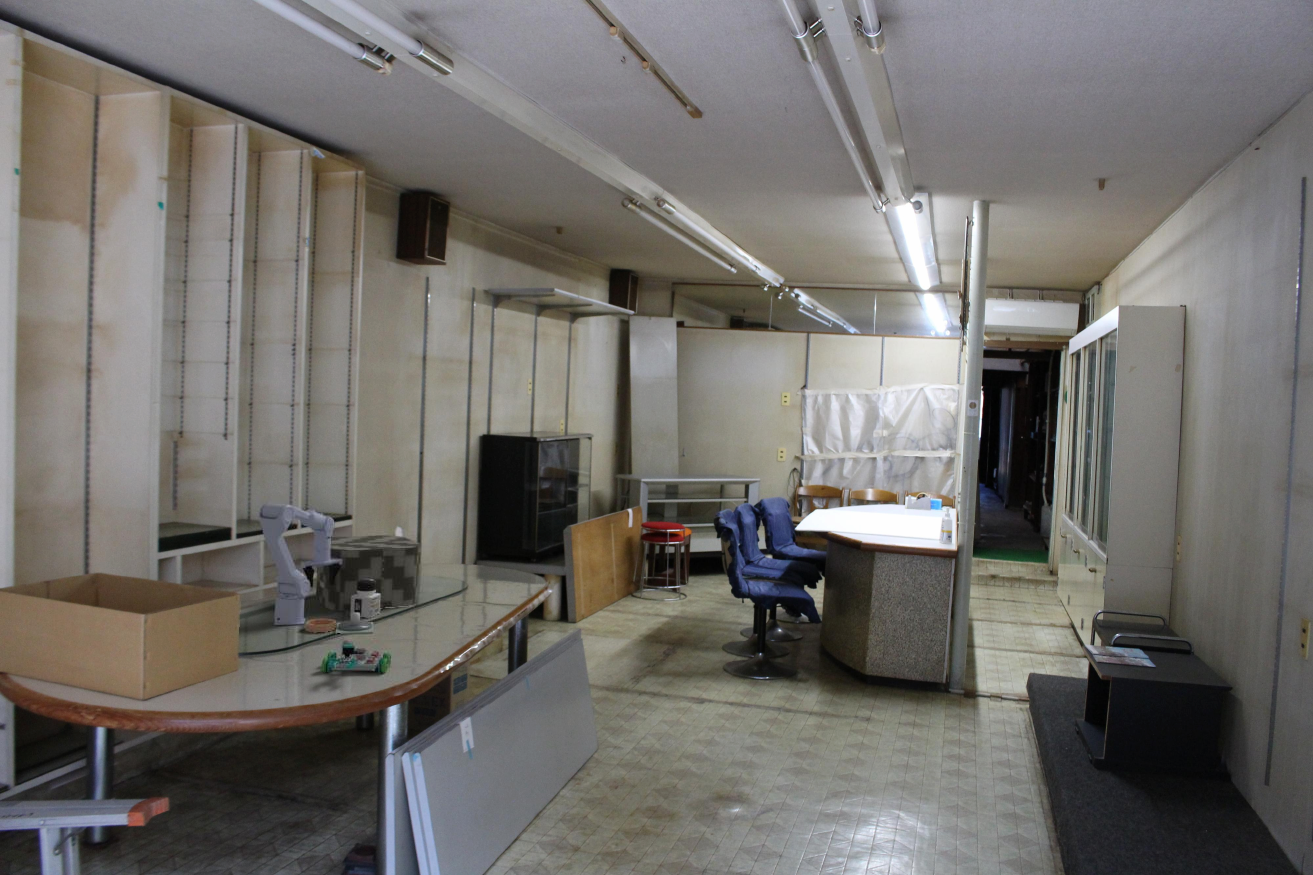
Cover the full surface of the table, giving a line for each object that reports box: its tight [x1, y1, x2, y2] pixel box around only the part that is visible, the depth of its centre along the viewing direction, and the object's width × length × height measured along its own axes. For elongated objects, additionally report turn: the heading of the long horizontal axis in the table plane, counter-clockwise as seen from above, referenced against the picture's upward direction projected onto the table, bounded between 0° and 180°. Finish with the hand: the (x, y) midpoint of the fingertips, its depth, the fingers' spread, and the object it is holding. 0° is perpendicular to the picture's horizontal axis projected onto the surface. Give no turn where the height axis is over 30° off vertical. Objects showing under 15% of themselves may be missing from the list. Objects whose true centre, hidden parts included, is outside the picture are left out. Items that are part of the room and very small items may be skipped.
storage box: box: [315, 534, 422, 612], centre depth 353 cm, size 35×35×23 cm
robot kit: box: [320, 639, 393, 674], centre depth 258 cm, size 19×25×9 cm
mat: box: [334, 621, 374, 635], centre depth 309 cm, size 12×14×1 cm
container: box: [350, 579, 381, 619], centre depth 329 cm, size 8×8×13 cm
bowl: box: [304, 618, 337, 634], centre depth 305 cm, size 10×10×2 cm
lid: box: [338, 612, 372, 631], centre depth 309 cm, size 11×11×5 cm
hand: (321, 585), depth 327 cm, fingers open, 7 cm apart
